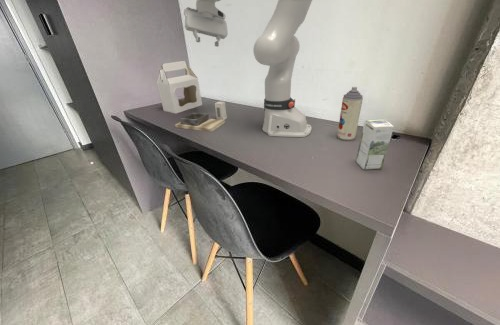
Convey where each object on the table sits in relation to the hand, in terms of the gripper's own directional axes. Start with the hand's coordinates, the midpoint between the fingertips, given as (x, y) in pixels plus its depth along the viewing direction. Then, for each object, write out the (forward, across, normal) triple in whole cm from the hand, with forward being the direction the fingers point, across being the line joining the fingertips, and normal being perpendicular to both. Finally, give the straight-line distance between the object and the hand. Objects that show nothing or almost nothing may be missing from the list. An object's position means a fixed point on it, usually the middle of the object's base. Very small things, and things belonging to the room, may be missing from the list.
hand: (207, 44), depth 103 cm
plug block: (+34, +10, +10) cm, 37 cm away
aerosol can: (+46, +38, -47) cm, 76 cm away
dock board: (+37, -2, +9) cm, 38 cm away
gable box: (+23, +1, +48) cm, 53 cm away
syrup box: (+55, +26, -63) cm, 88 cm away
